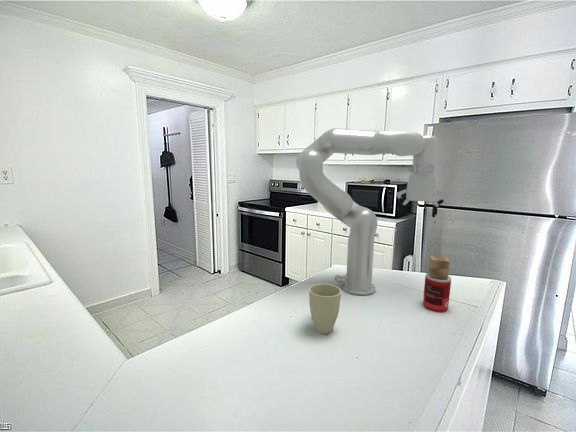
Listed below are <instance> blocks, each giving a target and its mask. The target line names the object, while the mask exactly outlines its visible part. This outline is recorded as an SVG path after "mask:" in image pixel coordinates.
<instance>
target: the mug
mask: <svg viewBox="0 0 576 432" xmlns="http://www.w3.org/2000/svg"><path fill="white" fill-rule="evenodd" d="M308 293H309V300H308V301H309V311H310V315H311V319H312V323H313V326H314V328H315V331H316V332H317V333H319V334H323V335H326V334H330V333H332V331H333V330H334V327H335V325H336V323H337V322H336V321H337V319H338V317H339V313H340V307H341V297H342V295H341V294H342V290H341V288H340V287H338V286H336V285H333V284H330V283H317V284H313V285H310V286H309V289H308Z"/></svg>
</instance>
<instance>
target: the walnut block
mask: <svg viewBox="0 0 576 432" xmlns="http://www.w3.org/2000/svg"><path fill="white" fill-rule="evenodd" d="M450 262H451V261H450V260H449V258H448V257H447V256H439V255H438V256H437V255H430V256H429V268H428V272H429V274H430V277H431V278H438V279H446V280H448V276H449V273H450V272H449V271H450V269H449V268H450V264H451V263H450Z"/></svg>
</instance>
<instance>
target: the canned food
mask: <svg viewBox="0 0 576 432" xmlns="http://www.w3.org/2000/svg"><path fill="white" fill-rule="evenodd" d="M424 277H425V278H424V286H423V287H424V288H423V298H422V299H423V300H422V303H423V307H425V309H428V310H429V311H432V312H436V313H444V312H446V311H448V309H449V303H450V296H451V285H452V277H451V276H450V275H448V280H446V279H438V278H431V277H430V274H429V271H428V272H426V273H425V276H424Z"/></svg>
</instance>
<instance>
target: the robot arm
mask: <svg viewBox="0 0 576 432" xmlns="http://www.w3.org/2000/svg"><path fill="white" fill-rule="evenodd" d="M437 144H438V138H437V137H436V136H435V135H431V134H429V135H426V134H425V135H422V134H420V133H419V132H415V131H414V132H411V131H398V130H371V129H369V130H367V129H354V128H353V129H352V128H340V127H339V128H338V127H337V128H330V129H329V130H326V131H325V132H324V133H322V134H321V135H320V136H319V137H317V138H316V140H314V141H313V142H312V143H311V144H309V145H308V146H307V147H306V148H304V149H303V150H302V151H301V152H299V154H298V155H297V156H296V158H295V159H296V160H295V164H296V168H297V169H298V171H299V174H298V175H299V179H300V183H301V186H302V188H303V189H304V191H306V193H307V194H309V195H310V196H311V197H312V198H313V199H315V200H316V201H317V202H318V203H319V204H321V205H322V206H323V208H324V210H325V211H326V212H328V213H329V214H331V216H332V217H334V218H335V219H337V220H338V221H340V222H341V223H342V224H344V225H345V226H347V227H348V228H349V234H348V239H347V257H346V259H347V260H346V274H344V275H339V274H335V277H334V280H336V282H338V283H341V288H342V289H343V290H344V291H345V292H347V293H349V294H352V295H357V296H368V295H373V294H374V293H375V292H376V290H377V289H376V285H374V284H373V270H374V269H373V265H374V250H375V249H374V247H375V237H376V234H377V228H378V218H377V216H376V214H375V212H374V211H373V210H371V209H369V208H368V207H365V206H362V205H359V204H358V203H357V202H356V201H354V200H353V199H352V197H351V196H350V194H349V193H347V191H344V190H343V189H341V188H340V187H339V186H338V185H336V184H335V183H333V181H331V179H329V178H328V177H327V176H326V175H325V173H324V168H323V166H324V162H326V161H327V160H328V159H329V158H330V157H331V156H333V155H334V154H344V155H345V154H347V155H359V156H360V155H361V156H376V155H377V156H378V155H389V154H390V155H395V156H397V157H408V156H409V157H410V156H412V166H408V167H407V171H409V172H411V173H409V176H408V179H407V180H408V181H407V184H406V189H403V190H400V191H398V192H396V197H397V199H398V201H399V202H400V203H401V204H402V214H404V216H408V215H407V214H408V203H409V202H410V201H411V202H431V203H432V204H433V206H432V209H431V217H432V218H436V216H437V215H438V209H439V208H438V207H439V206H440V205H442V204H443V203H444V202H445V200H446V199H447V198H448V195H447V194H446V193H444V192H442V191H440V190H438V176H437V174H435V169H436V159H437ZM404 194H405V196H406V198H405V200H404V199H403V198H402V195H404ZM437 195H439V196H440V199H439V200H437Z"/></svg>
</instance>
